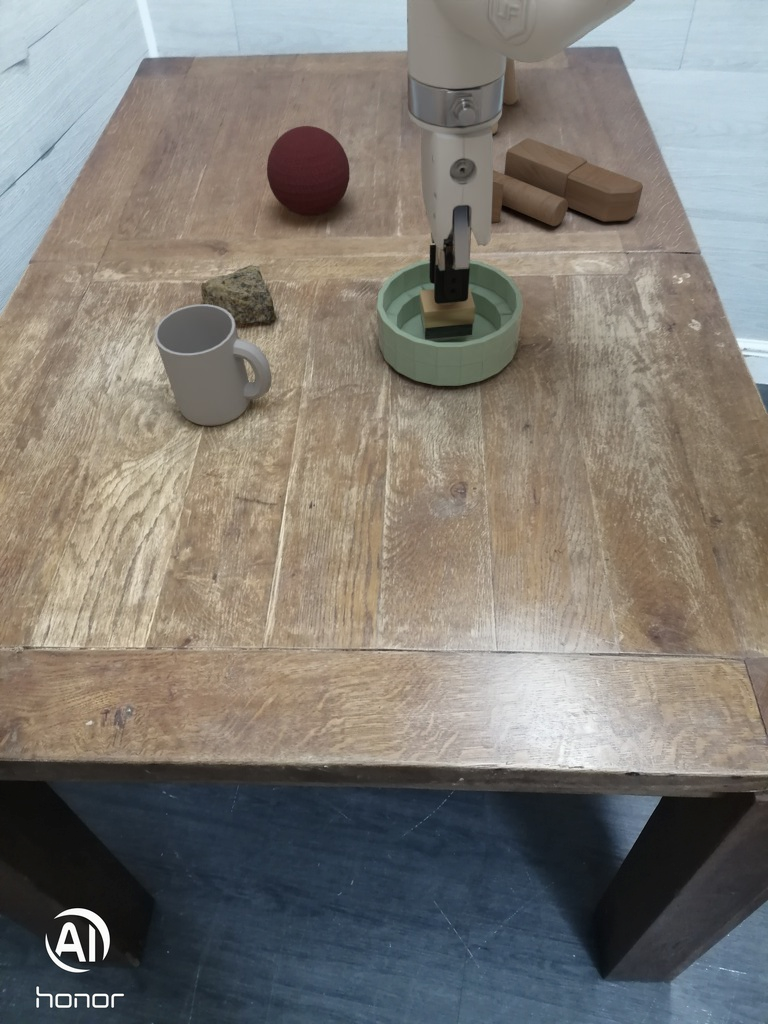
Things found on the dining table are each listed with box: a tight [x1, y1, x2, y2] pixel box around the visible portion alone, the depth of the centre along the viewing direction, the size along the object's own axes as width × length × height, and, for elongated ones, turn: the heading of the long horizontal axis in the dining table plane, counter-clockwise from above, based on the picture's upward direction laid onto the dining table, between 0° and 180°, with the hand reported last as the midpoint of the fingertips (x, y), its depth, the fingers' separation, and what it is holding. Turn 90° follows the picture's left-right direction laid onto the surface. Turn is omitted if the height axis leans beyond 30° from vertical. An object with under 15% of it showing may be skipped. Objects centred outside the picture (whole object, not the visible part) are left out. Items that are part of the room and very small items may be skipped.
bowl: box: [376, 259, 524, 387], centre depth 78 cm, size 14×14×6 cm
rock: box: [200, 264, 277, 324], centre depth 83 cm, size 7×8×4 cm
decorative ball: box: [266, 125, 351, 217], centre depth 93 cm, size 10×10×10 cm
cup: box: [154, 303, 273, 427], centre depth 72 cm, size 7×10×9 cm
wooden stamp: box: [420, 246, 475, 339], centre depth 74 cm, size 5×4×10 cm
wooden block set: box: [491, 137, 644, 227], centre depth 91 cm, size 17×6×18 cm
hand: (448, 289), depth 75 cm, fingers closed on wooden stamp, 2 cm apart
